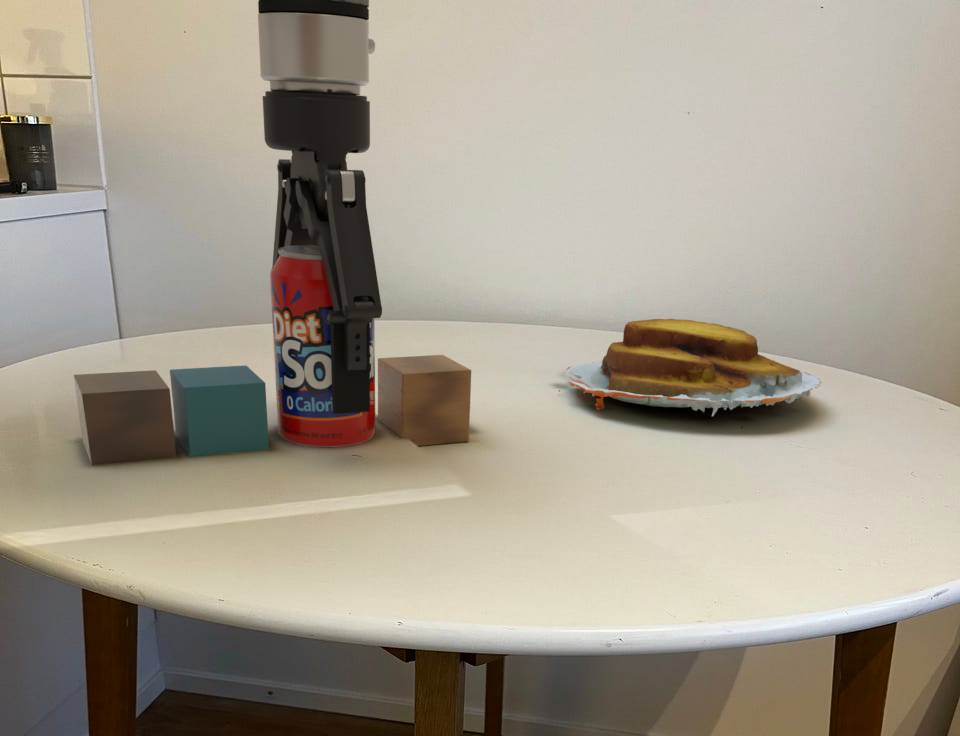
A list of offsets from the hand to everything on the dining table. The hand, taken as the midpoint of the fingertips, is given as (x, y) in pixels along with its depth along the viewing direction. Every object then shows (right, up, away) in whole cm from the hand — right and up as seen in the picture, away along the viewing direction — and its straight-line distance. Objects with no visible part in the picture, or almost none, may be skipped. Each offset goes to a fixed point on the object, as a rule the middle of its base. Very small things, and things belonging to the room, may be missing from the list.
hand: (324, 390), depth 81 cm
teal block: (-8, -5, -1) cm, 9 cm away
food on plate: (+33, +4, +20) cm, 39 cm away
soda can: (0, -4, +2) cm, 5 cm away
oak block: (+8, -2, +5) cm, 10 cm away
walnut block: (-14, -6, -4) cm, 16 cm away
